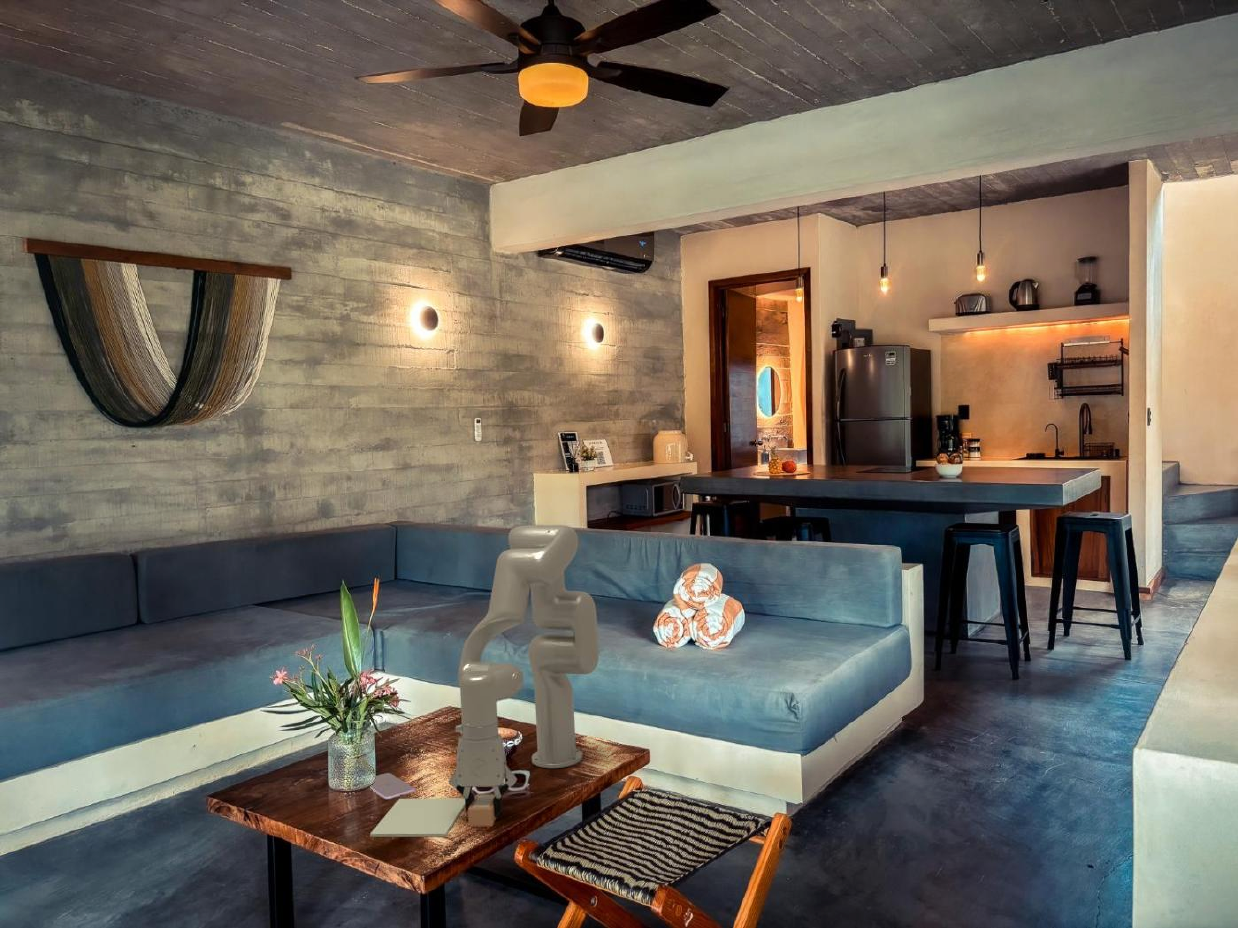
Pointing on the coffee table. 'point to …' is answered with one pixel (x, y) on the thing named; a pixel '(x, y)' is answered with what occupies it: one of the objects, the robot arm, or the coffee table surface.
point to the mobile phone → (390, 786)
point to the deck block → (482, 811)
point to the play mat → (420, 818)
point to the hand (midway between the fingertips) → (484, 813)
